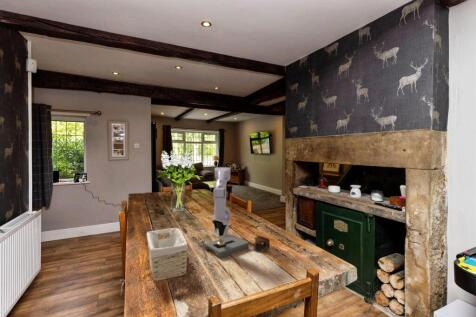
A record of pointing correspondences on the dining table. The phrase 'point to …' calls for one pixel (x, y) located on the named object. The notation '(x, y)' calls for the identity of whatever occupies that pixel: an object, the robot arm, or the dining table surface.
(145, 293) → the dining table surface
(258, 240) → the dark wooden box
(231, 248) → the keyhole plate
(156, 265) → the storage basket
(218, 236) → the brass peg
